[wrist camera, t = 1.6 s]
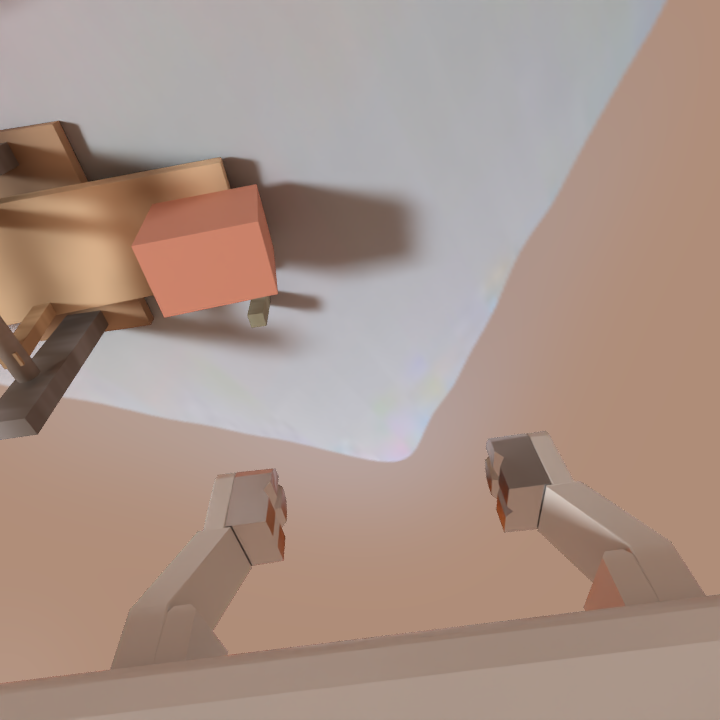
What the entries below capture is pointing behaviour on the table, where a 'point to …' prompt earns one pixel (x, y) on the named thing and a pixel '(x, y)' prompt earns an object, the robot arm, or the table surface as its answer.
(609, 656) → the robot arm
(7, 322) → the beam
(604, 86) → the table surface
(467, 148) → the table surface
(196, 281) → the salmon red rectangular block
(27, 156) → the stand
